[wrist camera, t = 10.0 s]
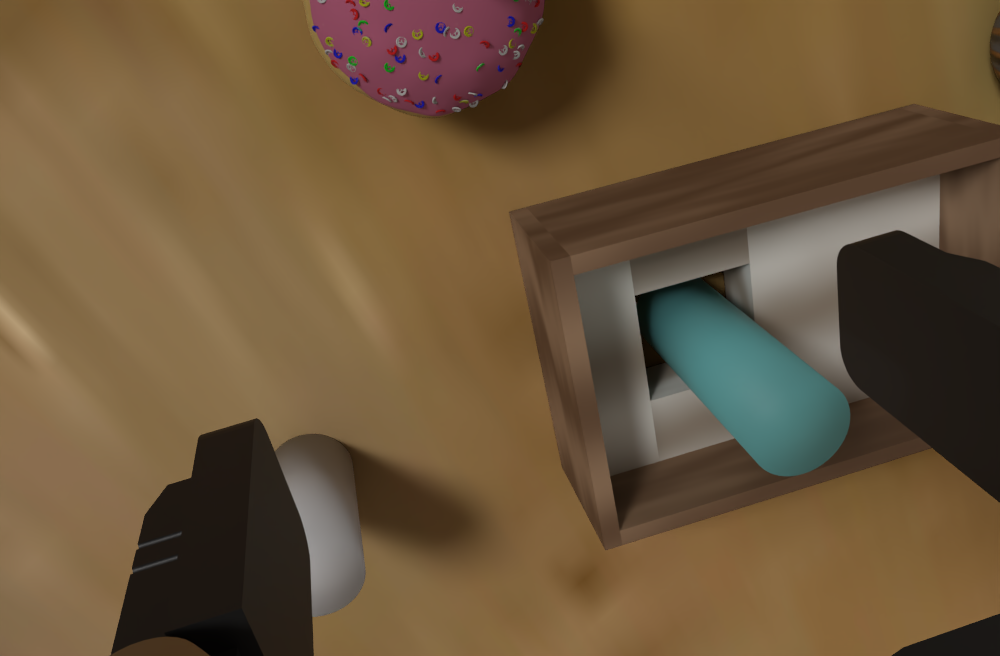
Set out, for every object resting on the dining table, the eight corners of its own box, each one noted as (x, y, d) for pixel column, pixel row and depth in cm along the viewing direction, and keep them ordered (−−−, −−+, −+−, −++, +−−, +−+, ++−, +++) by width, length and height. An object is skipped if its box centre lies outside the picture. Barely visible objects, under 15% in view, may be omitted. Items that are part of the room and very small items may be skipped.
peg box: (509, 211, 39) (550, 261, 33) (914, 104, 42) (1024, 131, 35) (562, 467, 45) (605, 550, 39) (914, 361, 48) (1008, 423, 41)
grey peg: (256, 447, 41) (249, 552, 34) (340, 423, 42) (350, 522, 35) (282, 515, 43) (281, 628, 36) (362, 491, 44) (376, 599, 36)
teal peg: (629, 284, 42) (745, 398, 31) (707, 261, 43) (848, 367, 32) (641, 356, 44) (754, 489, 33) (715, 334, 44) (852, 458, 34)
